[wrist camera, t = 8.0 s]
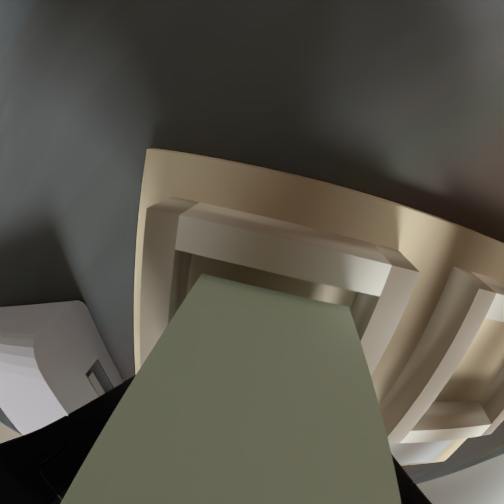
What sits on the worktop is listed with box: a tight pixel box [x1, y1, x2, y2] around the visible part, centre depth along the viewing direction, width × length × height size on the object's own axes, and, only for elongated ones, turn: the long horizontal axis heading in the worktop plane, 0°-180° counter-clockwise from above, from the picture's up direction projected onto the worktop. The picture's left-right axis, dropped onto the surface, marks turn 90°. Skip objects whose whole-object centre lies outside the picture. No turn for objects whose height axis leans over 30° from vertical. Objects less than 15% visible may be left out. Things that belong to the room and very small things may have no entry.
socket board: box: [134, 148, 504, 466], centre depth 11 cm, size 21×15×3 cm
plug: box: [60, 274, 401, 504], centre depth 6 cm, size 4×4×8 cm
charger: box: [0, 300, 124, 435], centre depth 13 cm, size 5×9×15 cm
